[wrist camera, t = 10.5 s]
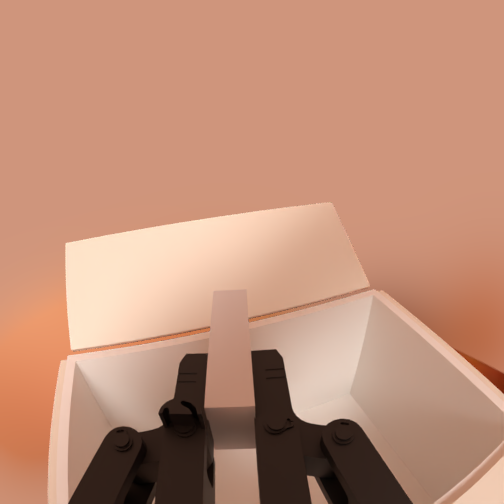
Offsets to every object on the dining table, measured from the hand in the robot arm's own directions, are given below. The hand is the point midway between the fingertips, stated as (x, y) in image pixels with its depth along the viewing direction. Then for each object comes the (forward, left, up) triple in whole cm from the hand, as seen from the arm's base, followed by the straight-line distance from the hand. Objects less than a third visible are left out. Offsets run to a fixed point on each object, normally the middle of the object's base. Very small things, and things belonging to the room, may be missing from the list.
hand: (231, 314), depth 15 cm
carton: (-2, +7, -22) cm, 23 cm away
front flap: (-2, -12, -4) cm, 13 cm away
